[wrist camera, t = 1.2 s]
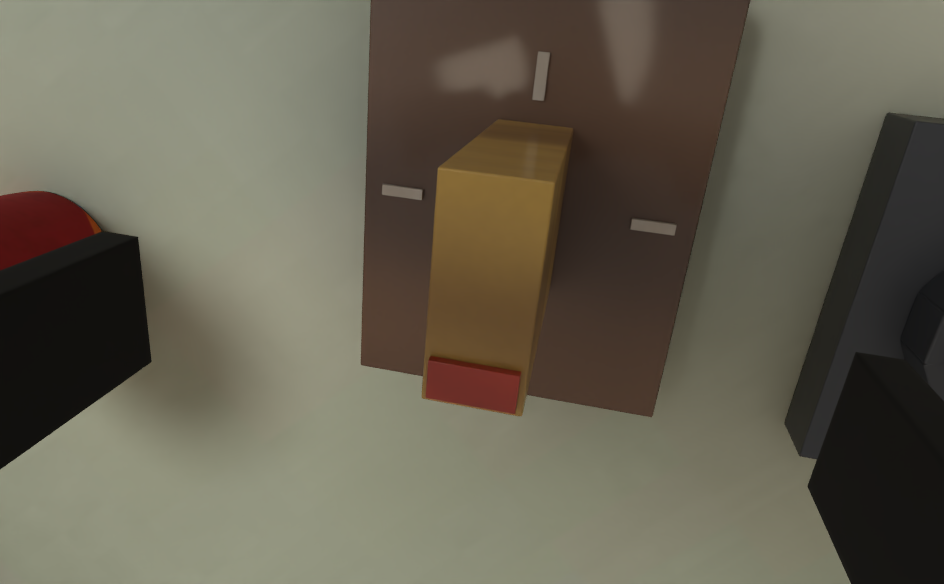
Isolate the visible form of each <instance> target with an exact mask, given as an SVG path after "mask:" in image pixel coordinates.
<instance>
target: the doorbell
mask: <svg viewBox="0 0 944 584" xmlns="http://www.w3.org/2000/svg"><path fill="white" fill-rule="evenodd" d="M856 352H860V353H866V354H873V355H879V356H885V357H891V358H897V359H904V360H906V361H907V362H908V363H909V364H910V365H911V366H912V367H913V368H914V370H915V371H916V372H917V373H918V374H919V375H920V376H921V377H922V378H923V379H924V380H925V381H926V382H927V384H928V385H929V386H930V387H931V388H932V389H933V390H934V391H935V392H936V393H937V394H938V395H939V396H940V398H941V399H942V400H943V401H944V119H941V118H932V117H923V116H913V115H904V114H895V113H887V114H886V117H885V120H884V123H883V126H882V129H881V132H880V135H879V139H878V142H877V145H876V148H875V151H874V154H873V157H872V160H871V163H870V166H869V169H868V172H867V175H866V178H865V181H864V184H863V187H862V190H861V193H860V196H859V199H858V202H857V205H856V208H855V211H854V214H853V217H852V220H851V223H850V226H849V229H848V232H847V235H846V239H845V242H844V245H843V248H842V251H841V254H840V257H839V260H838V263H837V266H836V269H835V272H834V275H833V278H832V281H831V284H830V287H829V290H828V293H827V296H826V299H825V302H824V305H823V308H822V311H821V314H820V317H819V320H818V323H817V326H816V329H815V332H814V335H813V339H812V342H811V345H810V348H809V351H808V354H807V357H806V360H805V363H804V366H803V369H802V372H801V375H800V378H799V381H798V384H797V387H796V390H795V393H794V396H793V399H792V402H791V405H790V408H789V411H788V414H787V417H786V420H785V426H786V428H787V430H788V432H789V434H790V436H791V439H792V441H793V443H794V445H795V447H796V450H797V452H798V454H799V456H802V457H807V458H813V459H817V458H818V456H819V453H820V450H821V447H822V445H823V442H824V439H825V436H826V433H827V431H828V428H829V425H830V422H831V419H832V417H833V414H834V411H835V408H836V406H837V403H838V400H839V397H840V394H841V392H842V389H843V386H844V383H845V380H846V378H847V375H848V372H849V369H850V367H851V364H852V361H853V358H854V355H855V353H856Z"/></svg>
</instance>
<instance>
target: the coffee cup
mask: <svg viewBox="0 0 944 584" xmlns="http://www.w3.org/2000/svg"><path fill="white" fill-rule="evenodd" d="M99 232H102V231H101V229H100V228H99V227H98V225H97V224H96V223H95V221H94V220H93V219H92V218H91V217H90V216H89V215H88V214H87V213H86V212H85V211H84V210H83V209H81V208H80V207H79V206H78V205H76V204H75V203H73V202H71V201H70V200H68V199H66V198H64V197H62V196H59V195H57V194H54V193H50V192H44V191H29V192H21V193H14V194H8V195H2V196H0V270H3V269H5V268H8V267H10V266H13V265H16V264H18V263H21V262H23V261H26V260H29V259H31V258H34V257H37V256H39V255H42V254H44V253H47V252H50V251H52V250H55V249H57V248H60V247H63V246H65V245H68V244H70V243H73V242H76V241H78V240H81V239H84V238H86V237H89V236H91V235H94V234H97V233H99Z"/></svg>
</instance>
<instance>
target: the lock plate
mask: <svg viewBox="0 0 944 584" xmlns="http://www.w3.org/2000/svg"><path fill="white" fill-rule="evenodd" d="M749 4H750V0H371V15H370V51H369V87H368V123H367V159H366V195H365V231H364V267H363V303H362V339H361V365H364V366H369V367H375V368H380V369H386V370H392V371H397V372H403V373H408V374H414V375H419V376H423V369H424V355H425V341H426V327H427V313H428V299H429V285H430V271H431V256H432V242H433V228H434V214H435V200H436V186H437V172H438V167H439V166H441V165H442V164H443V163H444V162H446V161H447V160H448V159H449V158H451V157H452V156H453V155H454V154H456V153H457V152H458V151H459V150H461V149H462V148H463V147H464V146H466V145H467V144H468V143H469V142H471V141H472V140H473V139H474V138H475V137H477V136H478V135H479V134H480V133H482V132H483V131H484V130H485V129H487V128H488V127H489V126H490V125H492V124H493V123H494V122H495V121H497V120H498V119H501V120H510V121H518V122H526V123H535V124H543V125H551V126H560V127H568V128H573V136H572V143H571V149H570V156H569V163H568V170H567V176H566V183H565V190H564V196H563V203H562V210H561V217H560V223H559V230H558V237H557V243H556V250H555V257H554V264H553V270H552V277H551V284H550V290H549V295H548V300H547V304H546V309H545V313H544V318H543V322H542V327H541V332H540V336H539V341H538V345H537V350H536V355H535V359H534V364H533V368H532V373H531V378H530V382H529V387H528V391H527V395H531V396H537V397H542V398H548V399H553V400H559V401H564V402H570V403H576V404H581V405H587V406H592V407H598V408H604V409H609V410H615V411H620V412H626V413H631V414H637V415H643V416H648V417H652V416H653V412H654V408H655V404H656V399H657V395H658V391H659V387H660V382H661V378H662V374H663V370H664V365H665V361H666V357H667V353H668V348H669V344H670V340H671V336H672V331H673V327H674V323H675V319H676V314H677V310H678V306H679V302H680V297H681V293H682V289H683V285H684V280H685V276H686V272H687V268H688V263H689V259H690V255H691V251H692V246H693V242H694V238H695V233H696V229H697V225H698V221H699V216H700V212H701V208H702V204H703V199H704V195H705V191H706V187H707V182H708V178H709V174H710V170H711V165H712V161H713V157H714V153H715V148H716V144H717V140H718V136H719V131H720V127H721V123H722V119H723V114H724V110H725V106H726V102H727V97H728V93H729V89H730V85H731V80H732V76H733V72H734V68H735V63H736V59H737V55H738V51H739V46H740V42H741V38H742V34H743V29H744V25H745V21H746V17H747V12H748V8H749Z"/></svg>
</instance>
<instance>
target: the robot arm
mask: <svg viewBox="0 0 944 584" xmlns="http://www.w3.org/2000/svg"><path fill="white" fill-rule="evenodd" d="M149 363H151V353H150V343H149V334H148V325H147V316H146V307H145V297H144V288H143V279H142V270H141V261H140V251H139V242H138V237H135V236H129V235H123V234H117V233H111V232H104V231H102V232H99V233H97V234H94V235H91V236H89V237H86V238H84V239H81V240H78V241H76V242H73V243H70V244H68V245H65V246H63V247H60V248H57V249H55V250H52V251H50V252H47V253H44V254H42V255H39V256H37V257H34V258H31V259H29V260H26V261H23V262H21V263H18V264H16V265H13V266H10V267H8V268H5V269H3V270H0V469H1V468H3V467H4V466H6V465H7V464H8V463H10V462H11V461H13V460H14V459H15V458H17V457H18V456H20V455H21V454H23V453H24V452H25V451H27V450H28V449H30V448H31V447H32V446H34V445H35V444H37V443H38V442H39V441H41V440H42V439H44V438H45V437H46V436H48V435H49V434H51V433H52V432H53V431H55V430H56V429H58V428H59V427H60V426H62V425H63V424H65V423H66V422H68V421H69V420H70V419H72V418H73V417H75V416H76V415H77V414H79V413H80V412H82V411H83V410H84V409H86V408H87V407H89V406H90V405H91V404H93V403H94V402H96V401H97V400H98V399H100V398H101V397H103V396H104V395H106V394H107V393H108V392H110V391H111V390H113V389H114V388H115V387H117V386H118V385H120V384H121V383H122V382H124V381H125V380H127V379H128V378H129V377H131V376H132V375H134V374H135V373H136V372H138V371H139V370H141V369H142V368H143V367H145V366H146V365H148V364H149ZM808 489H809V491H810V493H811V495H812V497H813V500H814V502H815V504H816V506H817V509H818V511H819V513H820V515H821V518H822V520H823V522H824V524H825V526H826V529H827V531H828V533H829V535H830V538H831V540H832V542H833V544H834V547H835V549H836V551H837V553H838V555H839V558H840V560H841V562H842V564H843V567H844V569H845V571H846V573H847V576H848V578H849V580H850V582H851V584H944V401H943V400H942V399H941V398H940V396H939V395H938V394H937V393H936V392H935V391H934V390H933V389H932V388H931V387H930V386H929V385H928V384H927V382H926V381H925V380H924V379H923V378H922V377H921V376H920V375H919V374H918V373H917V372H916V371H915V370H914V368H913V367H912V366H911V365H910V364H909V363H908V362H907V361H906V360H904V359H897V358H891V357H885V356H879V355H873V354H866V353H860V352H856V353H855V355H854V358H853V361H852V364H851V367H850V369H849V372H848V375H847V378H846V380H845V383H844V386H843V389H842V392H841V394H840V397H839V400H838V403H837V406H836V408H835V411H834V414H833V417H832V419H831V422H830V425H829V428H828V431H827V433H826V436H825V439H824V442H823V445H822V447H821V450H820V453H819V456H818V458H817V461H816V464H815V467H814V470H813V472H812V475H811V478H810V481H809V484H808Z"/></svg>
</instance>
